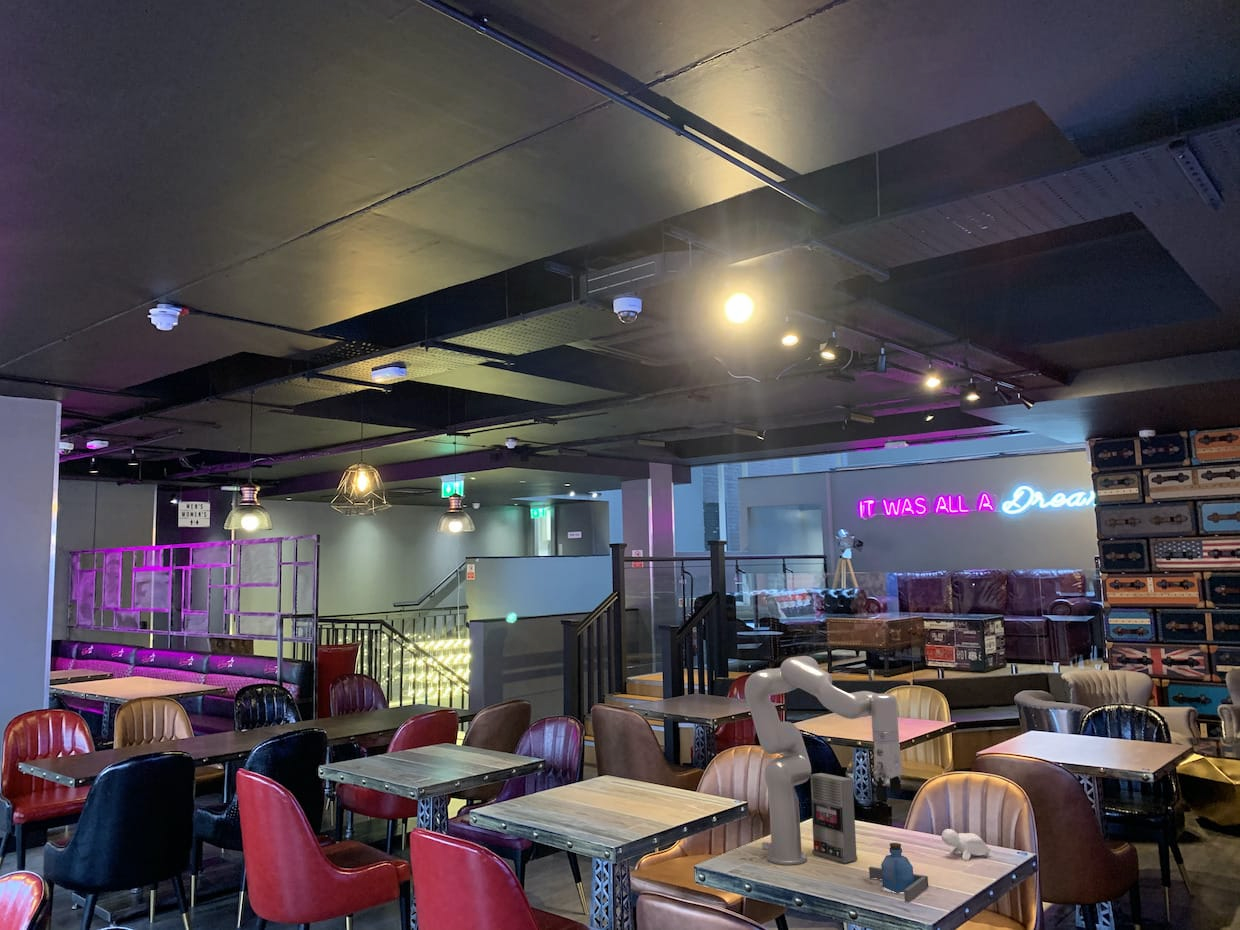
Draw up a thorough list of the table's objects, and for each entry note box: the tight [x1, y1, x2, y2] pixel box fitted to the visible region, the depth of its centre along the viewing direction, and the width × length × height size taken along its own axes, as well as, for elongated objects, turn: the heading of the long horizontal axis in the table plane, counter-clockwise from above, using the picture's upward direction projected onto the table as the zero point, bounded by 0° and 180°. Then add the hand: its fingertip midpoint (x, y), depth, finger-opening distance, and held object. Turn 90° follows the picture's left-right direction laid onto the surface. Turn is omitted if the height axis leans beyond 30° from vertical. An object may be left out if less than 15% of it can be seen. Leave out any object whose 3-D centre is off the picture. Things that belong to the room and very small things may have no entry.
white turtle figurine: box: [941, 828, 992, 862], centre depth 281 cm, size 9×8×15 cm
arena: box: [868, 866, 929, 903], centre depth 252 cm, size 17×15×3 cm
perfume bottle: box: [880, 842, 914, 893], centre depth 252 cm, size 6×6×12 cm
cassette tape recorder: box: [810, 772, 858, 864], centre depth 285 cm, size 14×6×25 cm, turn 34°
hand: (889, 796), depth 259 cm, fingers open, 9 cm apart
